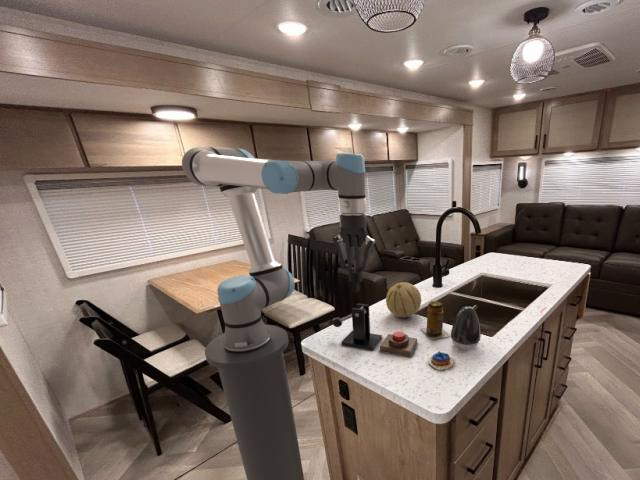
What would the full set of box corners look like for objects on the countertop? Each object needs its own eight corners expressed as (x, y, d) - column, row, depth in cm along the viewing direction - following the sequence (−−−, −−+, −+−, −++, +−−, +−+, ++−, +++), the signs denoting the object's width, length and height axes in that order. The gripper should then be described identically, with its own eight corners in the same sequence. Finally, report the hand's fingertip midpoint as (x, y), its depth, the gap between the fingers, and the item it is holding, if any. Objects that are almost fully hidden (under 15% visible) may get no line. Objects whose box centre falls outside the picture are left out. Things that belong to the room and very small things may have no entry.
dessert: (435, 370, 98) (432, 351, 100) (427, 371, 104) (424, 353, 106) (458, 367, 101) (455, 348, 102) (449, 368, 107) (446, 350, 108)
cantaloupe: (425, 311, 140) (426, 279, 134) (414, 325, 127) (415, 290, 122) (394, 306, 145) (393, 275, 139) (380, 319, 132) (379, 285, 127)
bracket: (341, 345, 114) (338, 309, 109) (352, 333, 122) (350, 300, 116) (372, 350, 111) (371, 314, 105) (381, 338, 118) (381, 304, 113)
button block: (379, 351, 110) (379, 341, 108) (388, 339, 118) (388, 329, 116) (410, 356, 107) (410, 346, 105) (417, 343, 115) (417, 333, 113)
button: (391, 340, 110) (391, 335, 109) (395, 334, 113) (395, 330, 113) (402, 342, 109) (402, 337, 108) (406, 336, 112) (406, 332, 111)
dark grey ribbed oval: (485, 346, 113) (490, 306, 107) (468, 357, 107) (472, 316, 101) (461, 335, 120) (464, 298, 114) (444, 345, 113) (446, 306, 107)
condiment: (438, 326, 127) (440, 299, 122) (448, 336, 119) (450, 307, 115) (421, 329, 124) (422, 301, 120) (431, 340, 117) (432, 310, 112)
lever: (334, 330, 116) (328, 321, 115) (338, 325, 119) (333, 317, 118) (364, 316, 110) (358, 307, 109) (368, 312, 113) (363, 303, 112)
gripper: (325, 214, 89) (331, 292, 98) (369, 216, 85) (371, 298, 95) (337, 210, 95) (342, 284, 105) (379, 213, 92) (379, 289, 101)
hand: (355, 291), depth 100 cm, fingers closed
